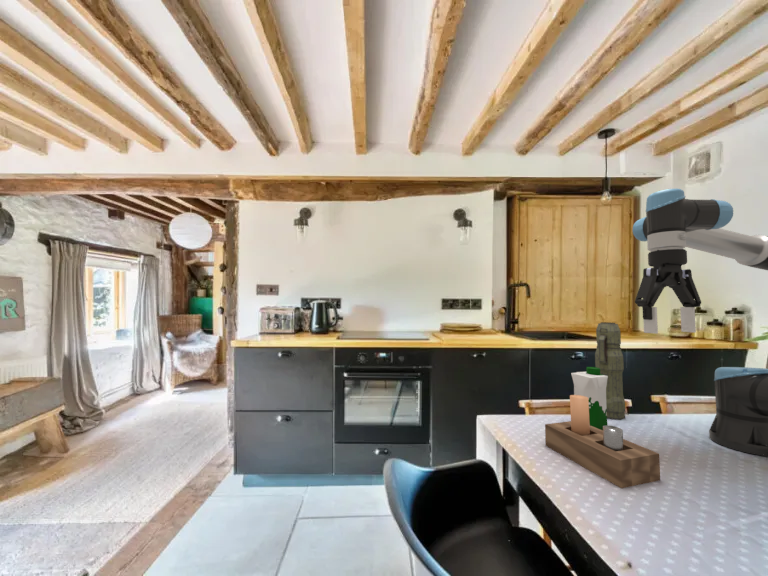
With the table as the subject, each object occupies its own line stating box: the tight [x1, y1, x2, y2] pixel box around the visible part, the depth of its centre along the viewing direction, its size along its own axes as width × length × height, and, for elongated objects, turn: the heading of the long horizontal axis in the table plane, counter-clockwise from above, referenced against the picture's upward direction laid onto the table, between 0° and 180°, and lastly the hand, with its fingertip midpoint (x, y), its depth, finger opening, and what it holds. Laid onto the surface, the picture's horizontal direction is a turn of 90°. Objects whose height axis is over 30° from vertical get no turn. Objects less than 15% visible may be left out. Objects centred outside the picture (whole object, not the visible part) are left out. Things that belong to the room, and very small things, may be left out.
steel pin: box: [603, 425, 624, 451], centre depth 78 cm, size 4×4×10 cm
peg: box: [569, 394, 590, 436], centre depth 87 cm, size 4×4×15 cm
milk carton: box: [570, 366, 608, 430], centre depth 108 cm, size 9×9×20 cm
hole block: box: [544, 420, 661, 489], centre depth 82 cm, size 12×22×7 cm, turn 16°
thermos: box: [594, 321, 626, 421], centre depth 120 cm, size 9×12×35 cm
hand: (670, 332), depth 81 cm, fingers open, 13 cm apart
